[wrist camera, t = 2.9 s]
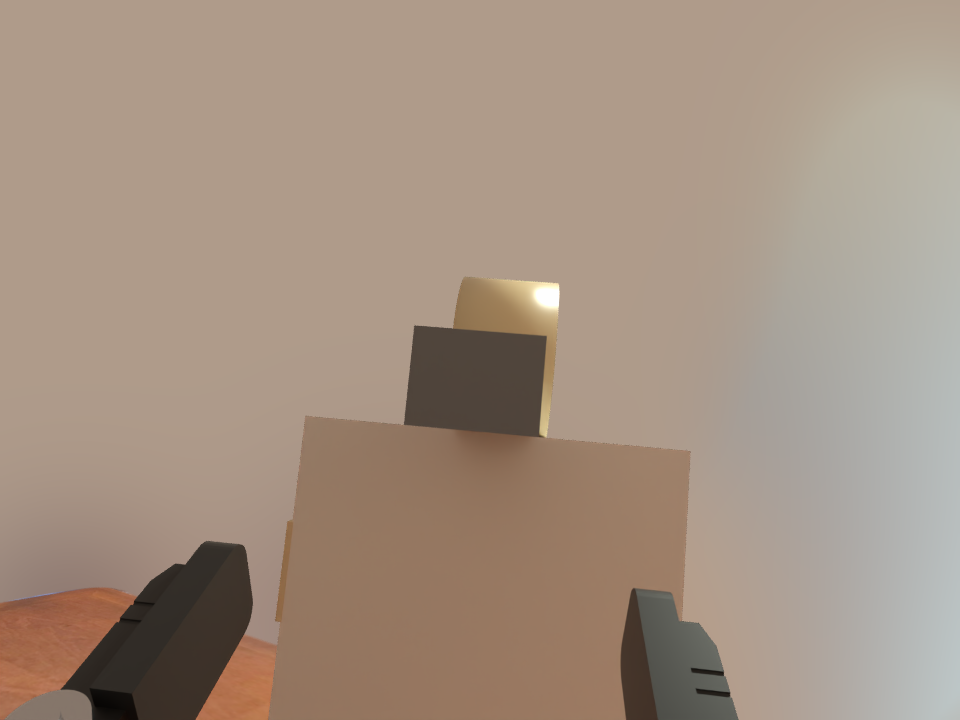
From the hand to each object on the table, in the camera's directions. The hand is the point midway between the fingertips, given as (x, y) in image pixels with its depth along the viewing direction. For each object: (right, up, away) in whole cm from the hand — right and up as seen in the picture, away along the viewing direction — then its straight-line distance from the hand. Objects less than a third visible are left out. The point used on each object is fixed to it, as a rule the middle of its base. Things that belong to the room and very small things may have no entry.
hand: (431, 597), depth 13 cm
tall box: (-1, -31, +23) cm, 39 cm away
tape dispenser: (+2, +1, +18) cm, 19 cm away
